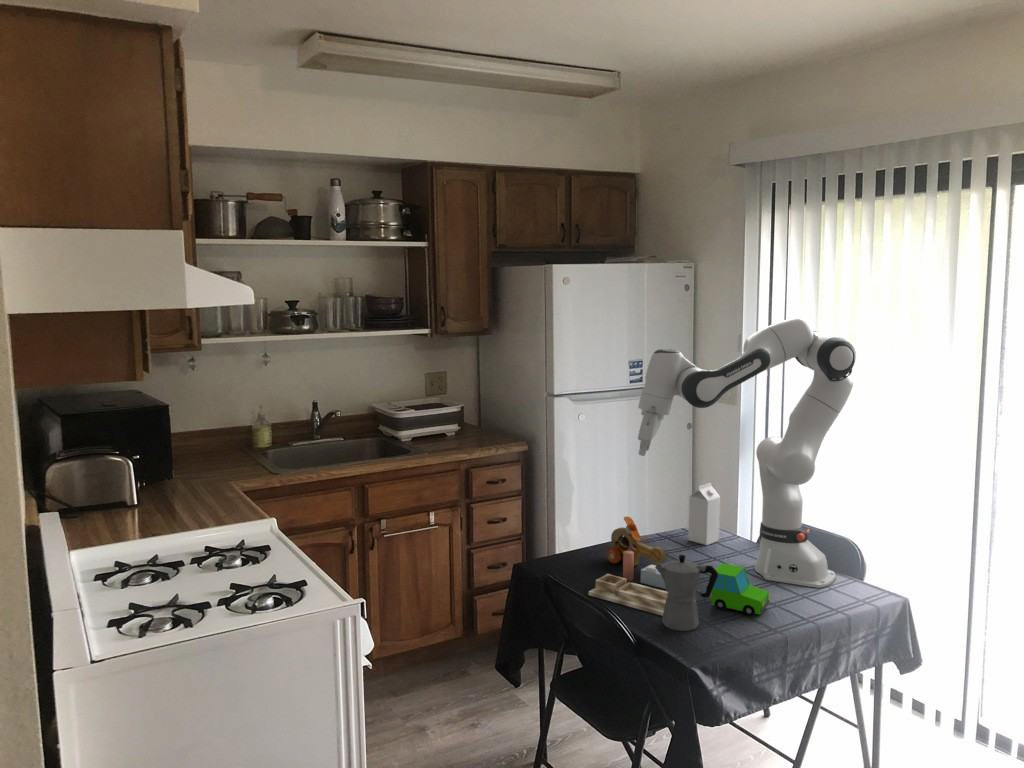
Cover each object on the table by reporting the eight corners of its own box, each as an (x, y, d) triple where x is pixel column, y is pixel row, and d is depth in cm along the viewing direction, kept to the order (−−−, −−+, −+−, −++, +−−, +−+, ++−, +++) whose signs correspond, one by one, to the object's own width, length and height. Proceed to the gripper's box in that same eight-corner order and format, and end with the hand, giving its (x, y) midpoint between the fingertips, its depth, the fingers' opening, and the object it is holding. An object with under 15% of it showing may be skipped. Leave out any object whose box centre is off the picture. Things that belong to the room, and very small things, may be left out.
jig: (685, 601, 227) (685, 589, 226) (663, 616, 217) (663, 603, 217) (611, 582, 241) (611, 570, 240) (588, 595, 231) (588, 582, 231)
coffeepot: (653, 629, 209) (655, 559, 207) (654, 614, 218) (655, 547, 216) (717, 634, 207) (719, 563, 204) (715, 618, 216) (717, 550, 213)
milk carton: (688, 540, 277) (689, 484, 274) (700, 536, 282) (702, 480, 279) (706, 545, 272) (708, 488, 269) (719, 541, 277) (720, 484, 274)
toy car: (760, 621, 214) (761, 583, 213) (709, 609, 221) (710, 573, 220) (771, 607, 223) (772, 571, 222) (721, 597, 230) (723, 561, 229)
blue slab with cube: (685, 588, 236) (685, 571, 236) (678, 593, 233) (679, 575, 233) (647, 579, 244) (647, 562, 243) (640, 583, 240) (640, 566, 240)
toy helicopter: (622, 554, 264) (622, 512, 262) (673, 573, 248) (674, 527, 246) (603, 560, 259) (604, 517, 257) (654, 579, 243) (655, 533, 241)
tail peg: (635, 578, 243) (635, 552, 242) (630, 581, 241) (630, 555, 240) (626, 576, 245) (626, 550, 244) (620, 579, 243) (621, 552, 242)
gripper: (662, 411, 225) (650, 461, 227) (668, 404, 245) (657, 450, 247) (639, 406, 227) (628, 455, 229) (647, 399, 247) (636, 444, 248)
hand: (643, 452), depth 238 cm, fingers open, 8 cm apart
